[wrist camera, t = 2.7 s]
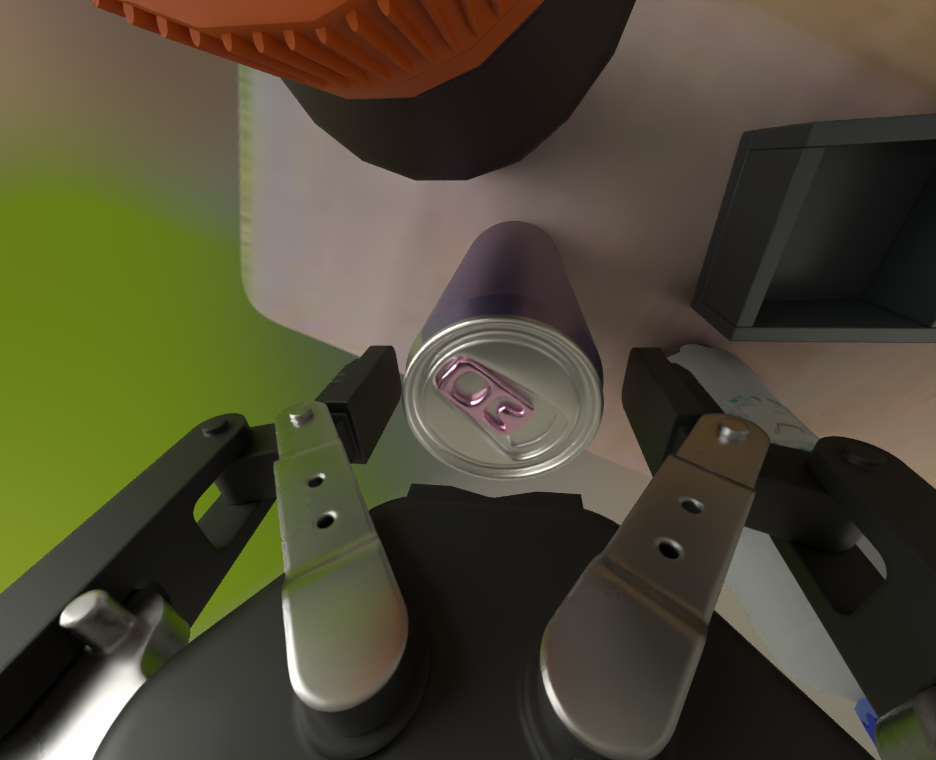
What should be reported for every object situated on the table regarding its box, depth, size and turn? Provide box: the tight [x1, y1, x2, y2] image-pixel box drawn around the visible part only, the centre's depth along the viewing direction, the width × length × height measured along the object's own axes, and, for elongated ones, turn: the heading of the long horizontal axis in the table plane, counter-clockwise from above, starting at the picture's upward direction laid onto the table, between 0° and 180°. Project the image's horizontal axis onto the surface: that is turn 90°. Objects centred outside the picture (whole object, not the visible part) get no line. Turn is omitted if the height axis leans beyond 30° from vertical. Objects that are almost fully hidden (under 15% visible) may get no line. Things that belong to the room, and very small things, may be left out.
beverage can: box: [402, 221, 604, 481], centre depth 16 cm, size 6×6×15 cm
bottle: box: [667, 344, 887, 748], centre depth 16 cm, size 7×7×20 cm
